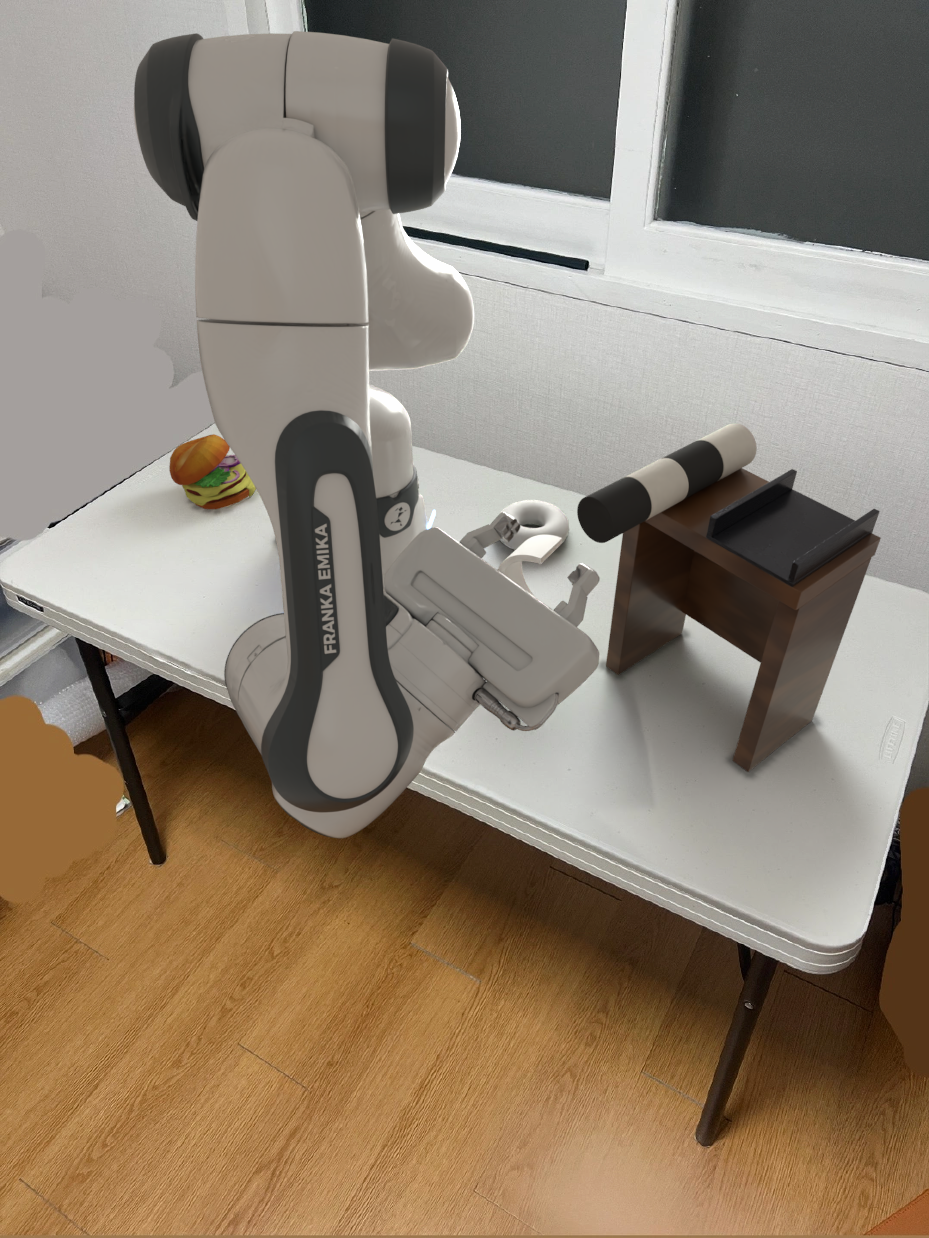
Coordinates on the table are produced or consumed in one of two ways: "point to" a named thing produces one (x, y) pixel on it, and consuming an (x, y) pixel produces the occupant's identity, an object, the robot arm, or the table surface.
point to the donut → (536, 521)
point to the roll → (665, 482)
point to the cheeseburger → (210, 473)
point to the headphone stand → (529, 557)
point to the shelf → (735, 610)
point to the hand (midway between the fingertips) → (550, 543)
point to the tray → (786, 530)
